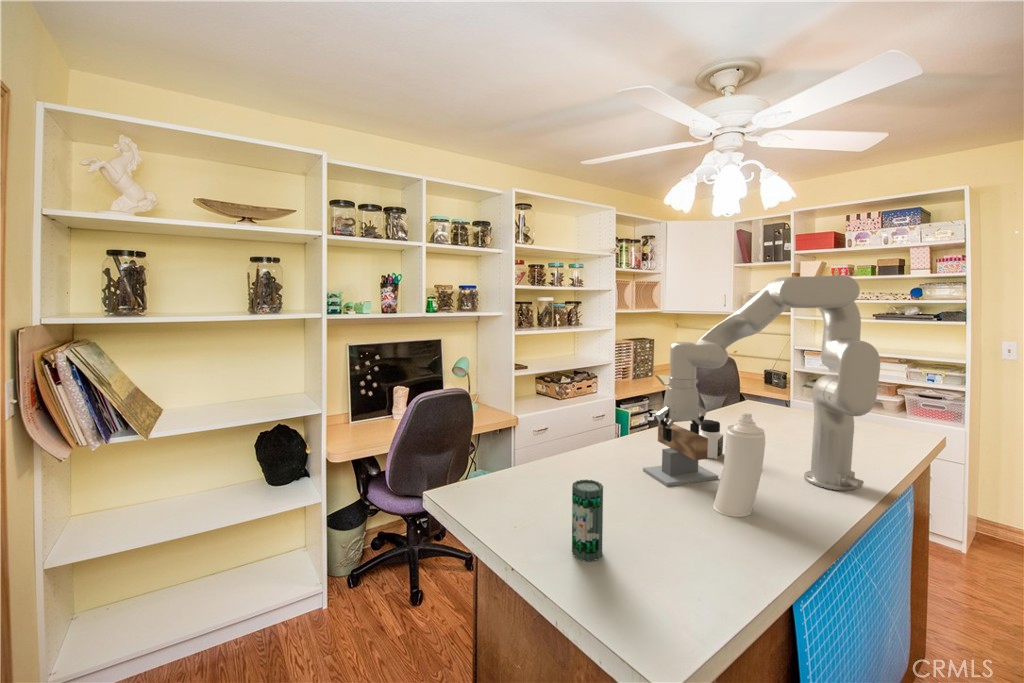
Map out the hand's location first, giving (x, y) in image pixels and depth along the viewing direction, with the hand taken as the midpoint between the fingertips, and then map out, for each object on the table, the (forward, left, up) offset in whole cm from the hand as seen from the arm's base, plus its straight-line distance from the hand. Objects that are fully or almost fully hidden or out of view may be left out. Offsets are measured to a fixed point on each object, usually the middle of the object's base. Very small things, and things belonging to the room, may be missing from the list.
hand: (680, 438), depth 137 cm
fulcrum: (0, 0, -11) cm, 11 cm away
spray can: (-23, 0, -11) cm, 26 cm away
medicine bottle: (+12, -21, -11) cm, 27 cm away
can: (-30, +46, -11) cm, 56 cm away
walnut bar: (0, 0, -3) cm, 3 cm away
